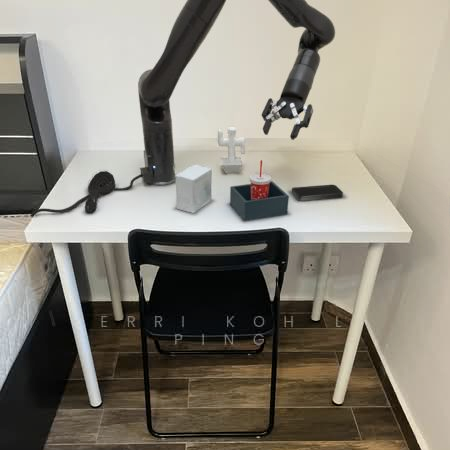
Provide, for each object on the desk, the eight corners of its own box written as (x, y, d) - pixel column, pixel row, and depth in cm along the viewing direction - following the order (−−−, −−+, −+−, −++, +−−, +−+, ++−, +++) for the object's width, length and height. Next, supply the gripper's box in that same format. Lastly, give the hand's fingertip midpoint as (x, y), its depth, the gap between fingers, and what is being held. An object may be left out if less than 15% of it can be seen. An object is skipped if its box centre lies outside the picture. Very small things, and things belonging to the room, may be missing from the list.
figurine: (245, 174, 158) (247, 130, 149) (218, 175, 157) (218, 131, 149) (243, 167, 164) (244, 124, 155) (216, 168, 163) (216, 124, 154)
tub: (244, 221, 130) (244, 202, 127) (229, 204, 139) (230, 186, 136) (287, 214, 134) (289, 195, 131) (270, 198, 143) (272, 180, 139)
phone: (344, 194, 143) (298, 197, 141) (343, 197, 144) (298, 200, 141) (334, 184, 149) (290, 187, 147) (334, 187, 150) (290, 190, 148)
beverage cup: (247, 202, 138) (248, 156, 130) (266, 201, 139) (270, 156, 131) (250, 211, 134) (252, 164, 125) (270, 210, 134) (274, 164, 126)
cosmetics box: (194, 214, 134) (193, 179, 127) (176, 209, 136) (174, 175, 130) (212, 200, 141) (212, 167, 135) (194, 196, 144) (193, 163, 137)
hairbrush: (73, 204, 131) (91, 168, 151) (75, 216, 134) (93, 178, 153) (102, 205, 131) (116, 168, 151) (104, 216, 134) (118, 179, 153)
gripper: (272, 74, 133) (252, 124, 132) (319, 80, 128) (298, 133, 127) (279, 90, 140) (260, 138, 139) (323, 96, 135) (303, 146, 133)
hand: (278, 135), depth 133 cm, fingers open, 8 cm apart
